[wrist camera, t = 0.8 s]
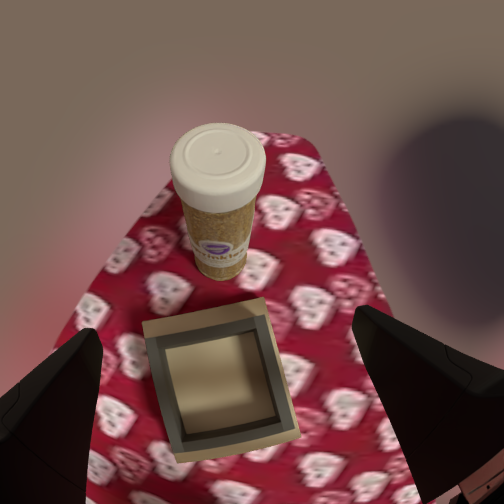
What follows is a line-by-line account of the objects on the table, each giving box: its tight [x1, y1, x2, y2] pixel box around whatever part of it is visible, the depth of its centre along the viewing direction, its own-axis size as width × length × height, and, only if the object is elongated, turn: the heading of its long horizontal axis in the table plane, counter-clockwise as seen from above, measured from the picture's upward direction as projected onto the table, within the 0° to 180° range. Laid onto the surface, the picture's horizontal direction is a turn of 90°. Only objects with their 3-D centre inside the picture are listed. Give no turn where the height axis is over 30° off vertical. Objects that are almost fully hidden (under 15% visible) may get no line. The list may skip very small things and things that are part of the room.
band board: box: [142, 297, 301, 463], centre depth 19 cm, size 12×10×4 cm
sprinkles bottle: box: [170, 123, 266, 281], centre depth 19 cm, size 5×5×14 cm
